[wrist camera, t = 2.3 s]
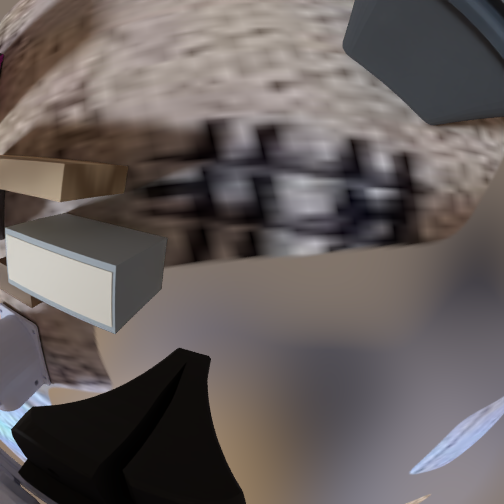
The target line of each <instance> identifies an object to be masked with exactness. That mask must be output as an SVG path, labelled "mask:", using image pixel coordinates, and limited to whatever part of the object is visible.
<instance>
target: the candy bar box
mask: <svg viewBox="0 0 504 504" xmlns="http://www.w3.org/2000/svg"><path fill="white" fill-rule="evenodd" d="M3 57H4V54H1V53H0V73H1V67H2V62H3Z"/></svg>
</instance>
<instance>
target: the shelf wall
mask: <svg viewBox="0 0 504 504" xmlns="http://www.w3.org/2000/svg"><path fill="white" fill-rule="evenodd" d="M127 171H128V166H122V165H115V164H107V163H98V162H90V161H80V160H70V159H59V158H47V157H32V156H13V155H0V189H2V190H7V191H11V192H16V193H21V194H25V195H30V196H35V197H39V198H44V199H48V200H53V201H57V202H64V201H70V200H77V199H84V198H91V197H98V196H106V195H114V194H123V193H124V190H125V184H126V177H127Z"/></svg>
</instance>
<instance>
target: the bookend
mask: <svg viewBox="0 0 504 504" xmlns="http://www.w3.org/2000/svg"><path fill="white" fill-rule="evenodd" d="M4 199H5V190H2V189H0V240H3V239H4Z"/></svg>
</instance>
